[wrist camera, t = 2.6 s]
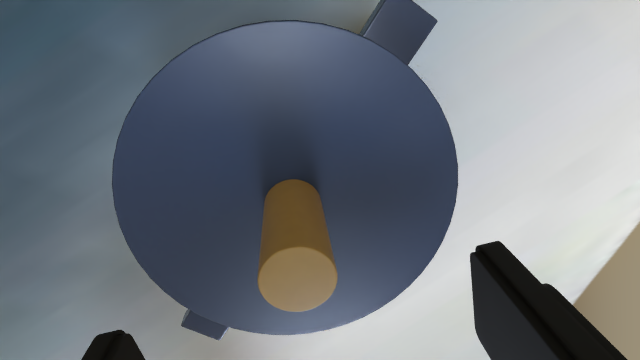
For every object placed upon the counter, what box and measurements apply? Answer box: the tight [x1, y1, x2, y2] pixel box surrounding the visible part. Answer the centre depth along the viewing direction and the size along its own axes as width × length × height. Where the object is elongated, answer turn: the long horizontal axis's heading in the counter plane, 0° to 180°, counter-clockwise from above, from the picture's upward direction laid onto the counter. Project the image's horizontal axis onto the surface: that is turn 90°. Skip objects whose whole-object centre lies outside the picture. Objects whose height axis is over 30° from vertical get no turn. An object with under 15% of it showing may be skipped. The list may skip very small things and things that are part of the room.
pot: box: [181, 0, 437, 340], centre depth 22 cm, size 15×20×10 cm
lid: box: [112, 20, 458, 335], centre depth 15 cm, size 16×16×7 cm
